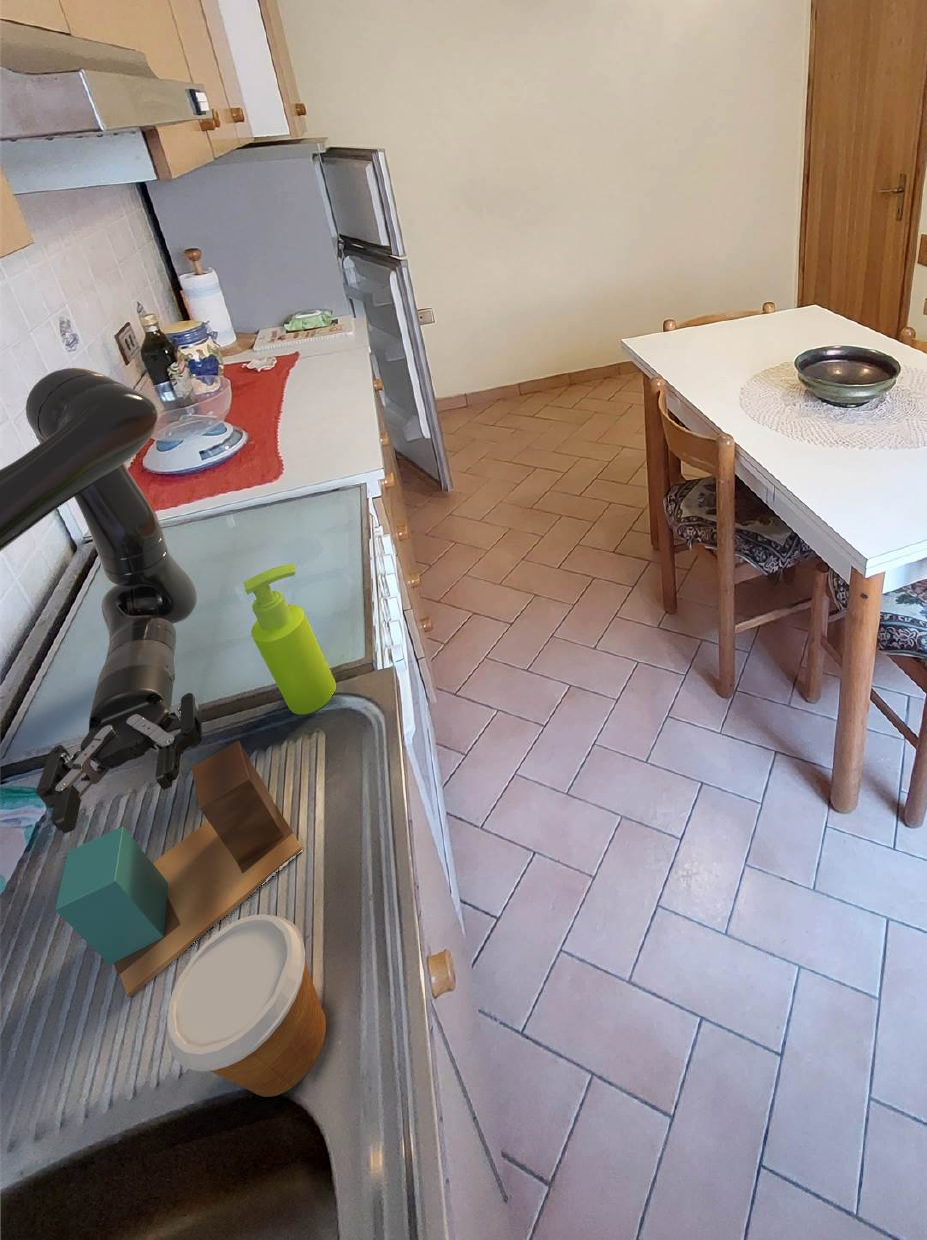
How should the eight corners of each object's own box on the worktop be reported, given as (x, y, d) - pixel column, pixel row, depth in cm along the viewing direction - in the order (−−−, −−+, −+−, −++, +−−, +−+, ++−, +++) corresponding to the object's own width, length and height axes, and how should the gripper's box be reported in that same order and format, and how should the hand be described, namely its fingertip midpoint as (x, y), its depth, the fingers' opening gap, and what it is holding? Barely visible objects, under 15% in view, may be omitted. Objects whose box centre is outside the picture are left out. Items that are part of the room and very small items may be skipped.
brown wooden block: (239, 865, 69) (199, 808, 65) (229, 824, 73) (191, 767, 68) (284, 836, 72) (249, 778, 67) (272, 797, 76) (238, 740, 71)
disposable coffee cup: (271, 1156, 51) (208, 1096, 45) (199, 1078, 56) (132, 1013, 50) (369, 1013, 58) (325, 945, 53) (298, 954, 63) (251, 885, 57)
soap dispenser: (349, 693, 88) (297, 577, 78) (292, 723, 85) (231, 606, 75) (338, 664, 92) (288, 551, 83) (284, 691, 89) (226, 577, 80)
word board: (128, 998, 61) (124, 994, 60) (98, 910, 68) (93, 905, 67) (304, 850, 71) (302, 845, 71) (262, 785, 78) (260, 781, 77)
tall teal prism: (109, 965, 63) (54, 910, 58) (117, 907, 67) (67, 850, 62) (164, 937, 64) (114, 880, 59) (168, 882, 69) (123, 825, 64)
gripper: (47, 694, 77) (8, 820, 64) (189, 640, 82) (180, 747, 69) (80, 736, 80) (49, 864, 68) (214, 682, 86) (209, 791, 73)
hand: (115, 804), depth 68 cm, fingers open, 8 cm apart
